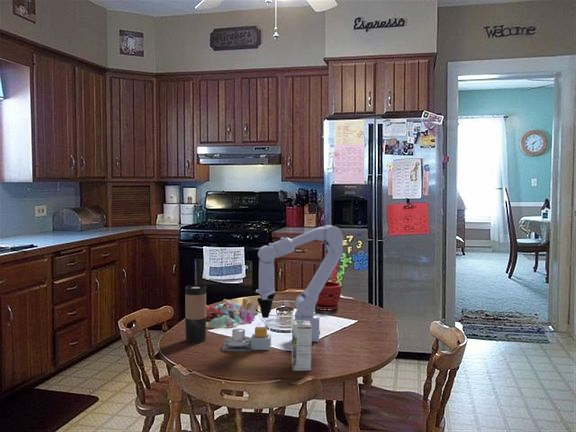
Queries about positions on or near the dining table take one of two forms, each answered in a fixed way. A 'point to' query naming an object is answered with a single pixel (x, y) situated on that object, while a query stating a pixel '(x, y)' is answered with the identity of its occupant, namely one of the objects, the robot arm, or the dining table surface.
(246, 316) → the candy landscape model
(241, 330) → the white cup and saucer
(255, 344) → the bracket head
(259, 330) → the wedge
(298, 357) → the syrup box
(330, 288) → the plant pot
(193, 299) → the travel mug
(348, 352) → the dining table surface
